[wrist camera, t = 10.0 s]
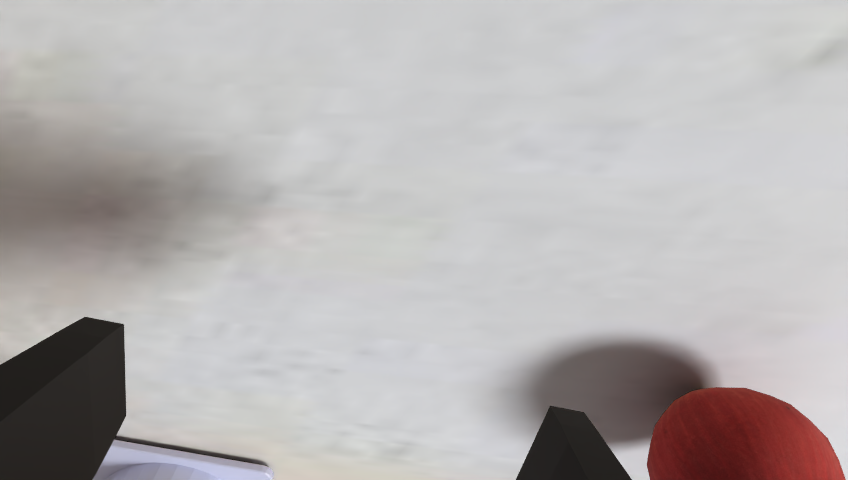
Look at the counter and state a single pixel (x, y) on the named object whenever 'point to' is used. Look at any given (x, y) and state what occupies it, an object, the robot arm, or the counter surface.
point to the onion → (738, 440)
